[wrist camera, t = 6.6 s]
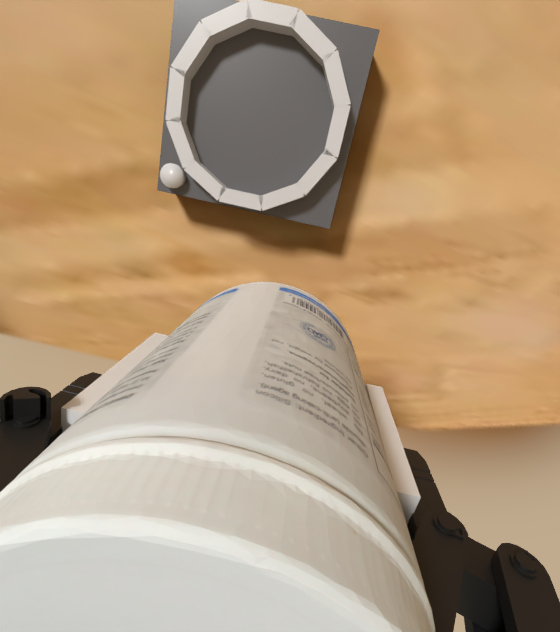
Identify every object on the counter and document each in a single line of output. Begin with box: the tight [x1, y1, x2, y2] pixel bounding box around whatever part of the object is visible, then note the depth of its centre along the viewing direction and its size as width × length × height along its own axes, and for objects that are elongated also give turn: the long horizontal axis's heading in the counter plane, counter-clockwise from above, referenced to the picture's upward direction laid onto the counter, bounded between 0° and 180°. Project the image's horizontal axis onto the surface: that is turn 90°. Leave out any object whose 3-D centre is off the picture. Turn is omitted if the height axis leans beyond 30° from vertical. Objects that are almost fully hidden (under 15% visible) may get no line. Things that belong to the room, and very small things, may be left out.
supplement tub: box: [0, 282, 435, 632], centre depth 13 cm, size 10×10×15 cm
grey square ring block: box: [157, 0, 379, 229], centre depth 30 cm, size 16×15×6 cm
